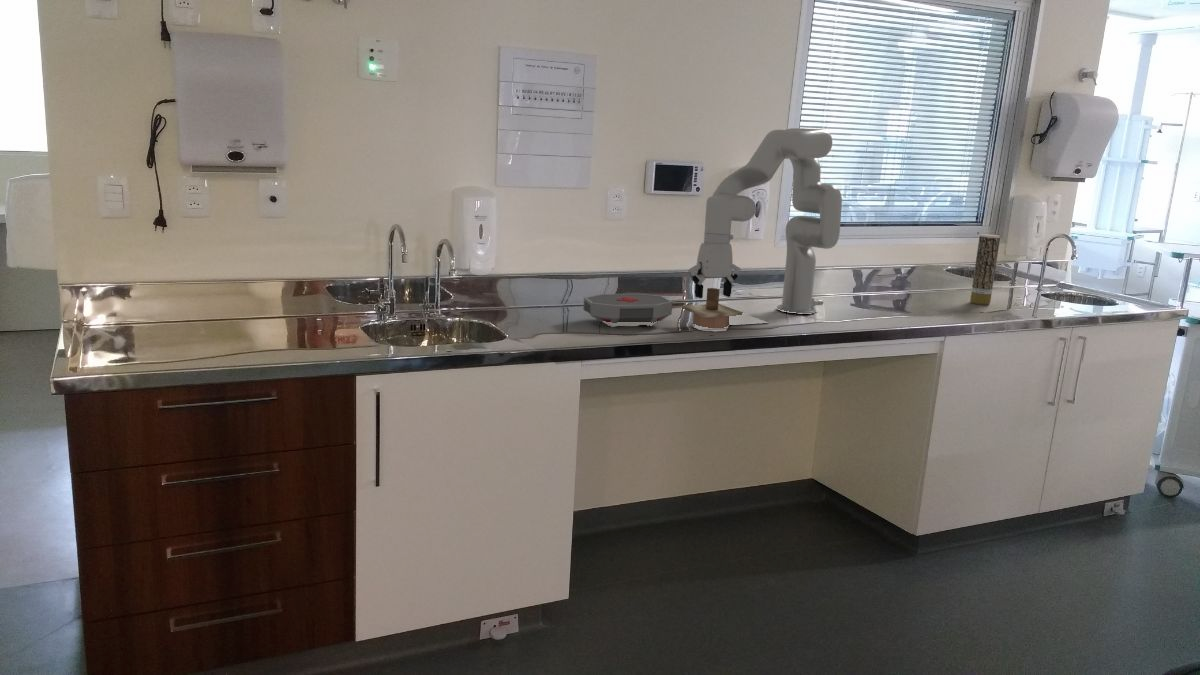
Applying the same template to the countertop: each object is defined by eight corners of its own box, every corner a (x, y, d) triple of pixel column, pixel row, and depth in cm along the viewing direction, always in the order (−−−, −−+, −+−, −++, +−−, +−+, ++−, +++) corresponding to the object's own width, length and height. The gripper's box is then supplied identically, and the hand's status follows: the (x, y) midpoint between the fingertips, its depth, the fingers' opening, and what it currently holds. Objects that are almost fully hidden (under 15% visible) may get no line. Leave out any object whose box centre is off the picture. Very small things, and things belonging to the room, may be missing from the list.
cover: (718, 306, 264) (720, 284, 262) (742, 315, 252) (744, 292, 251) (681, 308, 258) (683, 286, 257) (704, 317, 247) (706, 294, 245)
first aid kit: (594, 331, 247) (675, 329, 253) (595, 306, 245) (677, 304, 252) (579, 318, 263) (656, 316, 270) (580, 294, 261) (657, 293, 268)
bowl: (715, 323, 263) (716, 307, 262) (733, 330, 254) (735, 314, 253) (687, 325, 259) (688, 309, 258) (704, 332, 250) (706, 316, 249)
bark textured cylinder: (993, 305, 311) (1003, 236, 305) (974, 304, 311) (984, 236, 305) (985, 302, 318) (995, 234, 312) (967, 301, 318) (976, 233, 312)
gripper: (734, 237, 257) (730, 293, 261) (684, 238, 250) (681, 295, 254) (749, 240, 251) (744, 297, 255) (698, 241, 243) (694, 300, 248)
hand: (712, 296), depth 254 cm, fingers open, 9 cm apart
